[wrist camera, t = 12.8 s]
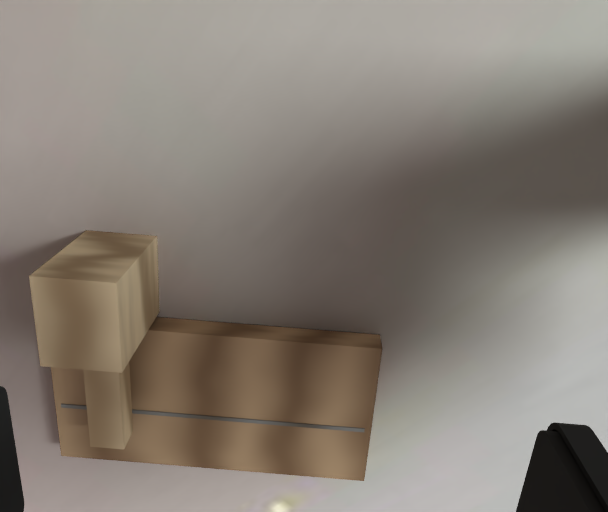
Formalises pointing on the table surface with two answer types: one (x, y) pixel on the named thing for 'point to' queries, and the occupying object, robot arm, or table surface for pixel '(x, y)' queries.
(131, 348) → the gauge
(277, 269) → the table surface
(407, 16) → the table surface
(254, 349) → the board
